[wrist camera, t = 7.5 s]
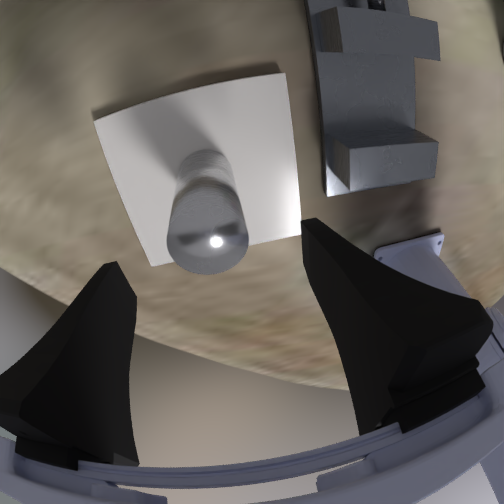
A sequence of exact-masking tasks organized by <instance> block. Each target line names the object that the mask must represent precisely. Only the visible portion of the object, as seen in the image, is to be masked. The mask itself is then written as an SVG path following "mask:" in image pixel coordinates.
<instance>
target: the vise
mask: <svg viewBox="0 0 504 504" xmlns="http://www.w3.org/2000/svg"><path fill="white" fill-rule="evenodd" d="M304 3H305V8H306V14H307V20H308V26H309V32H310V39H311V46H312V53H313V60H314V68H315V76H316V85H317V94H318V104H319V115H320V127H321V140H322V156H323V174H324V193H325V194H326V196H327V197H329V196H334V195H340V194H345V193H351V192H357V191H363V190H369V189H375V188H381V187H387V186H394V185H400V184H407V183H411V181H416V180H423V179H430V178H435V170H436V162H437V153H438V143H439V142H437V141H436V140H434V139H432V138H430V137H428V136H426V135H425V134H423V133H421V132H419V131H417V130H415V67H414V57H417V58H424V59H431V60H437V61H440V47H439V35H438V25H437V22H435V21H431V20H427V19H423V18H419V17H414V16H410V14H409V7H408V1H407V0H304Z"/></svg>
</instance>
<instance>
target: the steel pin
mask: <svg viewBox="0 0 504 504" xmlns="http://www.w3.org/2000/svg"><path fill="white" fill-rule="evenodd" d="M166 242H167V249H168V252H169V254H170V256H171V258H172V259H173V260H174V261H175V262H176V263H177V264H178V265H179V266H180V267H182V268H184V269H185V270H187V271H190V272H193V273H197V274H206V275H209V274H217V273H221V272H224V271H226V270H228V269H230V268H232V267H234V266H235V265H236V264H237V263H239V262H240V260H241V259H242V258H243V257H244V255H245V253H246V251H247V249H248V245H249V235H248V230H247V226H246V222H245V218H244V214H243V210H242V206H241V202H240V198H239V194H238V190H237V186H236V182H235V178H234V174H233V170H232V167H231V164H230V162H229V161H228V159H227V158H226V157H225V156H224V155H223V154H221V153H219V152H217V151H214V150H210V149H203V150H198V151H195V152H193V153H191V154H190V155H188V156H187V157H186V158H185V159H184V160H183V162H182V164H181V166H180V169H179V173H178V178H177V183H176V188H175V193H174V198H173V204H172V209H171V215H170V220H169V226H168V232H167V240H166Z"/></svg>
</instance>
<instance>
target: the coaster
mask: <svg viewBox="0 0 504 504" xmlns="http://www.w3.org/2000/svg"><path fill="white" fill-rule="evenodd" d="M94 125H95V128H96V131H97V134H98V137H99V140H100V143H101V145H102V148H103V151H104V154H105V157H106V160H107V162H108V165H109V168H110V170H111V173H112V176H113V178H114V181H115V183H116V186H117V189H118V191H119V194H120V196H121V198H122V201H123V203H124V206H125V208H126V211H127V213H128V215H129V218H130V220H131V222H132V225H133V227H134V229H135V231H136V234H137V236H138V238H139V240H140V242H141V245H142V247H143V249H144V251H145V253H146V255H147V258H148V260H149V262H150V264H151V266H152V267H153V266H157V265H162V264H166V263H171V262H175V261H174V260H173V259H172V258H171V256H170V254H169V252H168V249H167V242H166V240H167V232H168V226H169V220H170V215H171V209H172V204H173V198H174V193H175V188H176V183H177V178H178V173H179V169H180V166H181V164H182V162H183V160H184V159H185V158H186V157H187V156H188V155H190V154H191V153H193V152H195V151H198V150H203V149H210V150H214V151H217V152H219V153H221V154H223V155H224V156H225V157H226V158H227V159H228V161H229V162H230V164H231V167H232V170H233V174H234V178H235V182H236V186H237V190H238V194H239V198H240V202H241V206H242V210H243V214H244V218H245V222H246V226H247V230H248V235H249V245H254V244H258V243H263V242H268V241H272V240H277V239H282V238H286V237H291V236H296V235H301V224H300V221H301V210H300V198H299V186H298V175H297V165H296V155H295V146H294V137H293V128H292V120H291V112H290V104H289V96H288V89H287V82H286V75H285V73H282V72H281V73H273V74H265V75H258V76H251V77H245V78H239V79H234V80H228V81H223V82H218V83H213V84H209V85H204V86H200V87H196V88H191V89H187V90H183V91H180V92H176V93H172V94H169V95H165V96H162V97H158V98H155V99H152V100H149V101H145V102H142V103H139V104H136V105H133V106H130V107H127V108H125V109H122V110H119V111H116V112H114V113H111V114H108V115H106V116H103V117H101V118H98V119H97V120H95V121H94ZM249 245H248V246H249Z"/></svg>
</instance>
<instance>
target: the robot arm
mask: <svg viewBox="0 0 504 504" xmlns="http://www.w3.org/2000/svg"><path fill="white" fill-rule="evenodd" d="M300 224H301V238H302V253H303V264H304V267H305V270H306V273H307V276H308V279H309V282H310V285H311V287H312V290H313V292H314V294H315V296H316V298H317V301H318V303H319V305H320V307H321V309H322V311H323V313H324V316H325V318H326V320H327V322H328V324H329V327H330V329H331V331H332V334H333V336H334V339H335V342H336V345H337V348H338V351H339V354H340V357H341V361H342V364H343V368H344V371H345V375H346V378H347V382H348V386H349V390H350V393H351V398H352V401H353V406H354V410H355V415H356V420H357V425H358V430H359V435H360V436H358V437H355V438H352V439H349V440H346V441H343V442H340V443H336V444H332V445H329V446H326V447H322V448H318V449H314V450H310V451H306V452H301V453H297V454H292V455H288V456H283V457H277V458H272V459H266V460H260V461H253V462H246V463H238V464H230V465H218V466H205V467H182V468H181V467H180V468H179V467H178V468H160V467H159V468H158V467H138V465H139V464H140V463H139V459H138V455H137V451H136V447H135V441H134V436H133V429H132V421H131V413H130V398H129V370H130V360H131V353H132V345H133V339H134V332H135V325H136V313H137V296H136V295H135V293H134V291H133V290H132V288H131V286H130V284H129V283H128V281H127V279H126V277H125V276H124V274H123V272H122V270H121V268H120V266H119V265H118V263H117V261H115V262H110V263H106V264H104V265H103V266H102V267H101V268H100V269H99V270H98V271H97V272H96V273H95V274H94V275H93V277H92V278H91V279H90V280H89V282H88V283H87V284H86V285H85V287H84V288H83V289H82V290H81V292H80V293H79V294H78V296H77V297H76V298H75V299H74V301H73V302H72V303H71V304H70V306H69V307H68V308H67V309H66V311H65V312H64V313H63V314H62V316H61V317H60V318H59V319H58V321H57V322H56V323H55V324H54V325H53V326H52V328H51V329H50V330H49V331H48V332H47V333H46V334H45V335H44V336H43V338H41V340H39V341H38V343H36V344H35V345H34V346H33V348H31V349H30V350H29V351H28V352H27V353H26V354H25V355H24V356H23V357H22V358H21V359H20V360H18V362H16V363H15V364H14V365H13V366H11V367H10V368H9V369H8V370H7V371H5V372H4V373H2V374H1V375H0V426H1V427H2V428H4V429H6V430H7V431H9V432H11V433H12V434H14V435H15V436H17V439H16V442H15V441H13V440H10V439H7V438H4V437H1V436H0V491H1V492H3V493H5V494H7V495H8V496H10V497H12V498H13V499H15V500H17V501H19V502H21V503H22V504H167V498H166V497H164V496H159V495H152V494H147V493H142V492H139V491H136V490H130V489H124V488H119V487H118V486H117V485H125V486H135V487H148V488H169V489H170V488H171V489H198V488H218V487H232V486H242V485H250V484H257V483H265V482H270V481H276V480H283V479H288V478H293V477H298V476H302V475H307V474H311V473H315V472H318V471H323V470H326V469H330V468H334V467H337V466H341V465H344V464H347V463H350V462H353V461H357V460H359V459H362V458H364V459H363V460H362V461H359V462H356V463H353V464H350V465H348V466H345V467H342V468H340V469H337V470H334V471H331V472H328V473H325V474H322V475H319V476H318V477H317V482H316V485H317V490H318V492H316V493H311V494H307V495H302V496H297V497H292V498H286V499H281V500H274V501H267V502H259V503H251V504H416V503H418V502H419V501H421V500H423V499H425V498H426V497H428V496H430V495H431V494H433V493H435V492H436V491H438V490H440V489H441V488H443V487H445V486H446V485H448V484H449V483H451V482H452V481H454V480H455V479H457V478H458V477H460V476H461V475H463V474H464V473H465V472H467V471H468V470H469V469H471V468H472V467H473V466H475V465H476V464H477V463H479V462H480V464H481V466H482V467H483V470H484V472H485V474H486V476H487V478H488V480H489V482H490V484H491V487H492V489H493V491H494V493H495V495H496V498H497V500H498V502H499V504H504V316H503V315H502V314H501V313H500V312H499V310H498V309H497V308H490V307H487V308H486V309H484V308H483V306H482V305H481V303H480V302H479V301H478V300H475V299H472V298H471V297H470V296H469V294H468V293H467V292H466V290H465V289H464V288H463V286H462V285H461V284H460V283H459V281H458V280H457V279H456V277H455V276H454V275H453V274H452V272H451V271H450V270H449V269H448V267H447V266H446V265H445V264H444V263H443V261H442V260H441V259H440V258H439V254H440V250H441V247H442V243H443V240H444V234H443V233H442V232H439V233H435V234H432V235H428V236H424V237H420V238H416V239H412V240H408V241H404V242H400V243H396V244H392V245H388V246H384V247H380V248H378V249H377V250H376V251H375V253H374V258H373V257H371V256H370V255H368V254H367V253H365V252H363V251H362V250H360V249H359V248H357V247H356V246H354V245H353V244H351V243H350V242H349V241H347V240H346V239H344V238H343V237H342V236H340V235H339V234H338V233H336V232H335V231H333V230H332V229H331V228H329V227H328V226H327V225H325V224H324V223H323V222H321V221H320V220H319V219H317V218H312V219H307V220H302V221H300ZM379 257H380V258H379ZM115 484H117V485H115Z"/></svg>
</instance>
